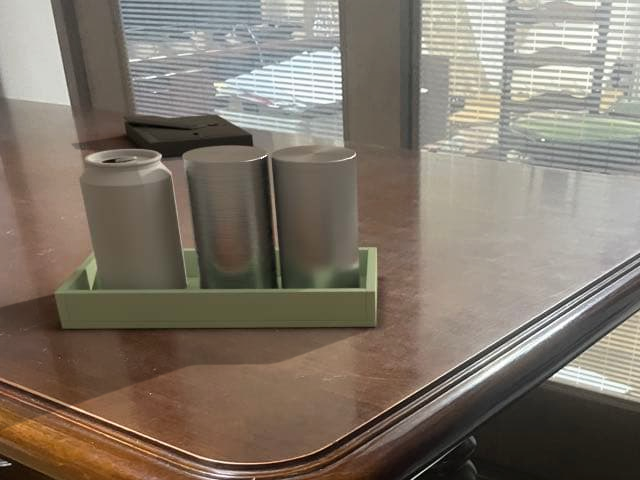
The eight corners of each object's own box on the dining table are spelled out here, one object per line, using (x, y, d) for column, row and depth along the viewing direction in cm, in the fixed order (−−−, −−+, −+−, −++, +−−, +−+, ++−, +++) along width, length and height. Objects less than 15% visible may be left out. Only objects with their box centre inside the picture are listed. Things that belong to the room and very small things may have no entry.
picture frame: (126, 135, 147) (152, 158, 131) (123, 116, 145) (149, 137, 130) (218, 127, 152) (253, 149, 137) (216, 109, 151) (251, 129, 135)
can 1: (168, 277, 83) (147, 141, 76) (203, 299, 78) (183, 155, 71) (91, 293, 80) (62, 151, 73) (122, 317, 75) (94, 167, 68)
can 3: (278, 309, 76) (266, 162, 69) (286, 283, 82) (275, 145, 75) (359, 308, 76) (354, 162, 70) (360, 282, 82) (356, 145, 75)
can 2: (195, 309, 76) (174, 162, 69) (208, 283, 82) (190, 145, 75) (275, 309, 76) (262, 162, 69) (283, 283, 82) (272, 145, 75)
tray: (62, 329, 74) (53, 293, 72) (101, 280, 84) (95, 248, 83) (376, 327, 74) (375, 291, 73) (377, 279, 85) (376, 247, 83)
